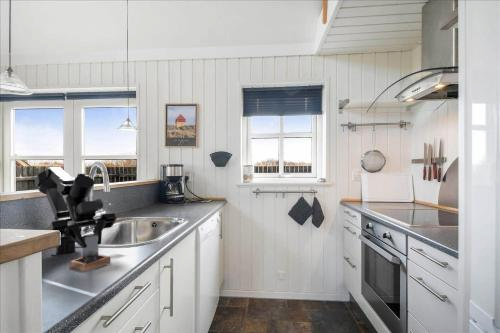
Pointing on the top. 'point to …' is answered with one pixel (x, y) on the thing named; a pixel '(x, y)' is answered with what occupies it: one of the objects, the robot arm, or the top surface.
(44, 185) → the robot arm
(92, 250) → the dark grey cylinder
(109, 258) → the wooden board with frame
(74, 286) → the top surface
